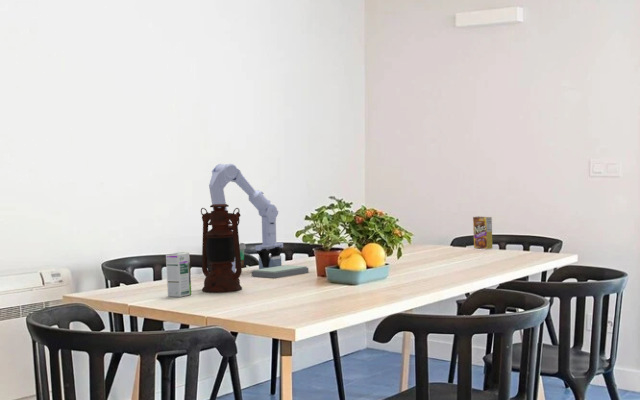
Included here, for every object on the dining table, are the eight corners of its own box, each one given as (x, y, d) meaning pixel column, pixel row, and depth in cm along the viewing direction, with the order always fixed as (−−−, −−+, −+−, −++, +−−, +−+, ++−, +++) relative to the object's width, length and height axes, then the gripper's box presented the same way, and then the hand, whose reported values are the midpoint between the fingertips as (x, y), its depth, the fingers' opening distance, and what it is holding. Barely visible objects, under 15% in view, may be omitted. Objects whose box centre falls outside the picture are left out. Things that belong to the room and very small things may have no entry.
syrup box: (180, 297, 299) (178, 253, 298) (167, 296, 302) (165, 253, 301) (191, 295, 304) (190, 252, 303) (178, 294, 307) (176, 251, 306)
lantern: (190, 291, 312) (187, 205, 311) (215, 286, 324) (212, 203, 323) (229, 293, 303) (227, 205, 302) (254, 288, 315) (251, 203, 314)
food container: (233, 269, 374) (232, 245, 374) (222, 269, 378) (221, 245, 378) (252, 266, 384) (251, 243, 384) (241, 265, 388) (241, 242, 388)
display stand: (274, 278, 342) (274, 271, 341) (251, 276, 349) (251, 270, 349) (308, 272, 357) (308, 266, 357) (286, 270, 365) (286, 264, 364)
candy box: (473, 248, 436) (472, 216, 436) (479, 247, 439) (478, 216, 438) (486, 249, 429) (485, 217, 429) (492, 248, 432) (492, 216, 431)
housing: (273, 271, 363) (272, 257, 363) (259, 270, 368) (258, 256, 368) (281, 270, 367) (281, 255, 367) (267, 269, 372) (266, 254, 372)
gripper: (263, 235, 359) (265, 269, 359) (288, 232, 370) (289, 265, 370) (251, 234, 363) (252, 268, 364) (275, 231, 374) (276, 264, 375)
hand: (270, 266), depth 367 cm, fingers closed on housing, 5 cm apart
